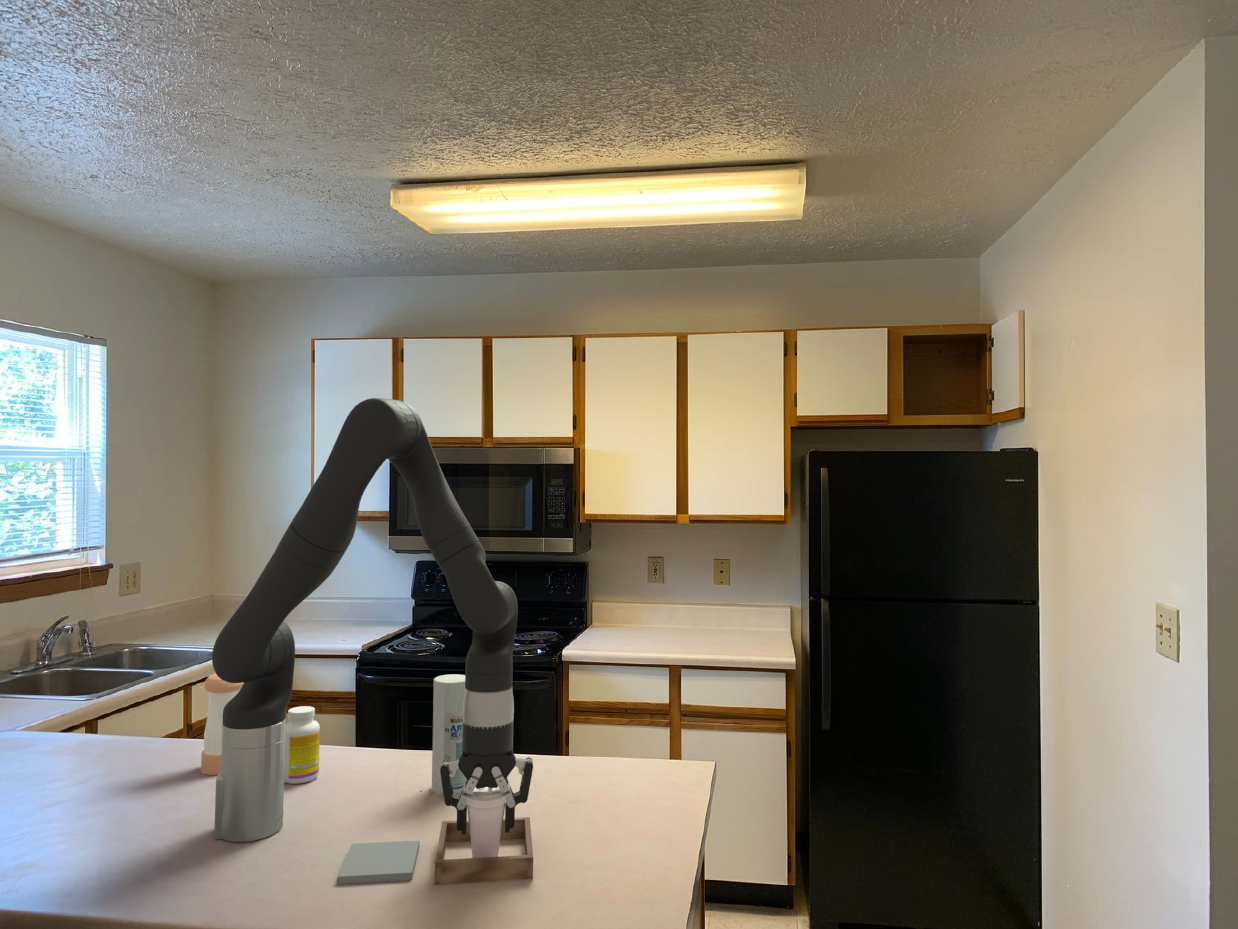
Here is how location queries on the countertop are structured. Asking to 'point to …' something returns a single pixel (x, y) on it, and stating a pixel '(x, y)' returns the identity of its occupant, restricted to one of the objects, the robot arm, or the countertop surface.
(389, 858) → the mat
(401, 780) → the countertop surface
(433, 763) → the spray can
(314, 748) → the supplement bottle
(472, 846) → the smoothie
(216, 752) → the salt shaker
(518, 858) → the frame
